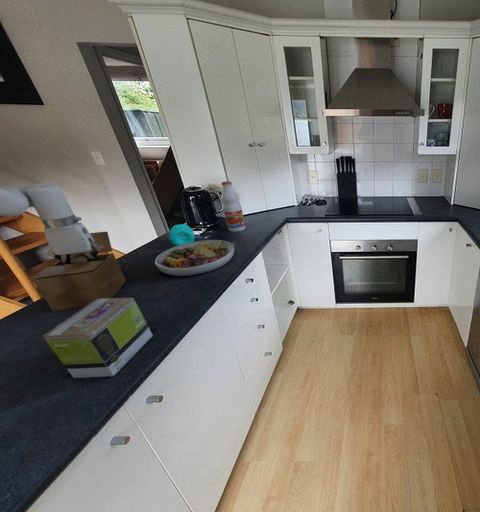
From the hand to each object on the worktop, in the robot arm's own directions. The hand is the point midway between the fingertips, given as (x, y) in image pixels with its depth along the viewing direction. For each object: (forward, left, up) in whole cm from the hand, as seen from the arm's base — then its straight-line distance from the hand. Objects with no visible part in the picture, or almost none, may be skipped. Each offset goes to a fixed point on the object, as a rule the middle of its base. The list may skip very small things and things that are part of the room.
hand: (85, 268), depth 100 cm
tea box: (+20, -43, -10) cm, 49 cm away
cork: (0, 0, -6) cm, 6 cm away
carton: (0, -3, -9) cm, 10 cm away
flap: (0, +6, +7) cm, 9 cm away
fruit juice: (+46, +53, -10) cm, 71 cm away
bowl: (+32, +12, -10) cm, 36 cm away
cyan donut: (+22, +38, -10) cm, 45 cm away
